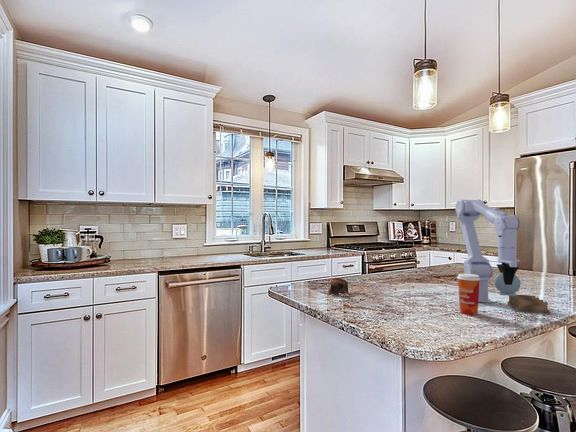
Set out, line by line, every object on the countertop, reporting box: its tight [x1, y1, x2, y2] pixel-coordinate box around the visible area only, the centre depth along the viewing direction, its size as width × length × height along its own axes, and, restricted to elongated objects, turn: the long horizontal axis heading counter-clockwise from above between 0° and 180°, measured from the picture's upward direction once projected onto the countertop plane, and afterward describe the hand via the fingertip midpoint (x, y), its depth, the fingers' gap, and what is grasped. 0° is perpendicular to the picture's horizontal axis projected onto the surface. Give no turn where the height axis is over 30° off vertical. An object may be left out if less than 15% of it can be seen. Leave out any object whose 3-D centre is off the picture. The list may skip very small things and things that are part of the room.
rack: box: [507, 293, 550, 314], centre depth 128 cm, size 10×12×4 cm
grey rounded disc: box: [493, 272, 521, 297], centre depth 123 cm, size 8×2×8 cm, turn 72°
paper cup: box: [456, 273, 481, 316], centre depth 122 cm, size 8×8×14 cm
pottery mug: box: [327, 277, 349, 296], centre depth 154 cm, size 12×10×8 cm
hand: (507, 284), depth 123 cm, fingers closed on grey rounded disc, 2 cm apart
